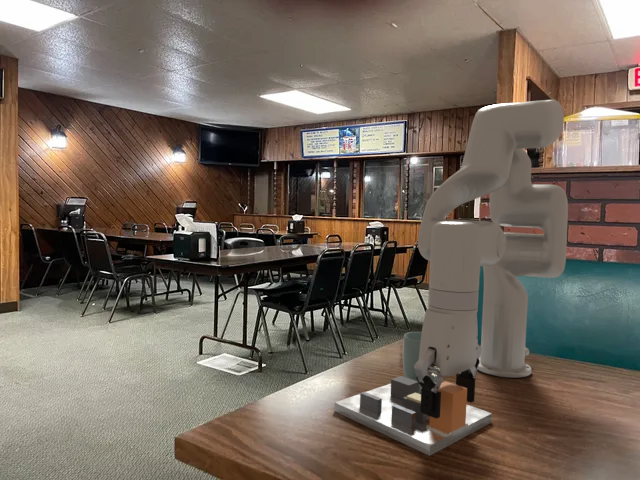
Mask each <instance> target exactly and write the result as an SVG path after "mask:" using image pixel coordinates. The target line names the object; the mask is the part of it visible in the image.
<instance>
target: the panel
mask: <svg viewBox="0 0 640 480" xmlns="http://www.w3.org/2000/svg"><path fill="white" fill-rule="evenodd" d="M418 394H421V388H420V387H419V391H418ZM334 412H335V413H338V414H339V415H342V416H343V417H346V418H347V419H350V420H352V421H355V422H357V423H358V424H361V425H362V426H364V427H367V428H369V429H371V430H374V431H375V432H378V433H380V434H382V435H384V436H386V437H389V438H391V439H393V440H394V441H397V442H399V443H401V444H403V445H405V446H408V447H410V448H411V449H413V450H416V451H418V452H420V453H423V454H424V455H427V456H432V455H434V454H435V453H438V452H439V451H442V450H443V449H445V448H447V447H449V446H451V445H453V444H455V443H456V442H458V441H460V440H462V439H463V438H465V437H467V436H469V435H471V434H473V433H474V432H476V431H478V430H480V429H482V428H483V427H486V426H488V425H489V424H491V423H492V422H493V421H492V419H493V417H492V416H493V413H492V412H489V411H486V410H484V409H481V408H478V407H476V406H472V405H469V404H466V425H465V426H463V427H461V428H459V429H457V430H455V431H453V432H449V431H447V430H444V429H442V428H439V427H437V426H434V425H432V424H430V420H429V421H427V422H425V423H423V424H422V423H419V422H417V421H416V412H414V411H412V410H409V409H407V408H404V407H403V400H402V399H399V398H397V397H394V396H392V395H391V383H388V384H386V385H383V386H379V387H376V388H373V389H370V390H368V391H363V392H360V393H358V394H355V395H353V396H352V395H351V396H350V397H346V398H344V399H340V400H338V401H334Z"/></svg>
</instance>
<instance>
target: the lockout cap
mask: <svg viewBox="0 0 640 480" xmlns="http://www.w3.org/2000/svg"><path fill="white" fill-rule="evenodd" d="M438 391H439V392H441V406H440V417H439V418H437V419H436V418H433V417H431V416H430V424H432V425H434V426H437V427H439V428H442V429H444V430H447V431H449V432H453V431H455V430H457V429H459V428H461V427H463V426H465V425H466V404H467V388H465V387H462V386H459V385H456V383H452V382H449V381H442V383H441V386H440V388H439V390H438ZM467 405H468V404H467Z"/></svg>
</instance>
